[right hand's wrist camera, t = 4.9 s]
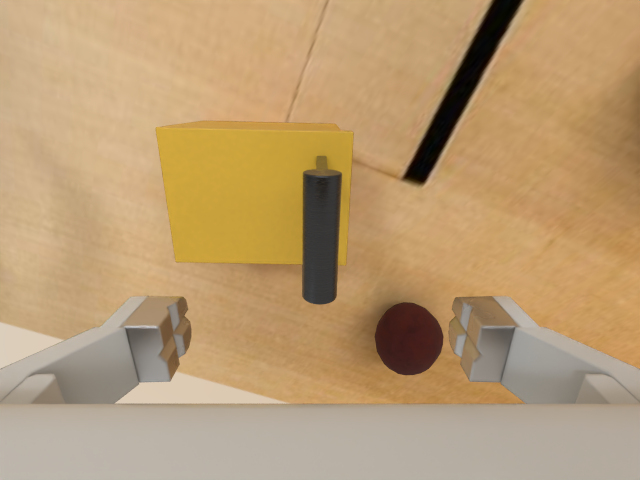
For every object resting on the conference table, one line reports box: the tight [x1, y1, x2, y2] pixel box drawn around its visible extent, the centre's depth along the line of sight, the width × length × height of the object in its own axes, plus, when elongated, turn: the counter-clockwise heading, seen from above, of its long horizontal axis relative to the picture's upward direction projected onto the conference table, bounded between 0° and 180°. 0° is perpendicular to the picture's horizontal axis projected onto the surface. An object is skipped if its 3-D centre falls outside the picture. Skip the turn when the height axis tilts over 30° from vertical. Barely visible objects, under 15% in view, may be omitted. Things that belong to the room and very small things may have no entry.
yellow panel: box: [156, 126, 354, 304], centre depth 22 cm, size 14×10×9 cm
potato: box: [375, 303, 443, 375], centre depth 37 cm, size 7×8×7 cm
